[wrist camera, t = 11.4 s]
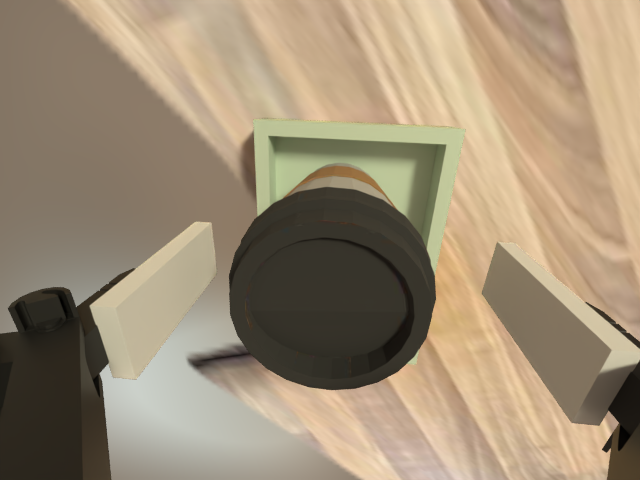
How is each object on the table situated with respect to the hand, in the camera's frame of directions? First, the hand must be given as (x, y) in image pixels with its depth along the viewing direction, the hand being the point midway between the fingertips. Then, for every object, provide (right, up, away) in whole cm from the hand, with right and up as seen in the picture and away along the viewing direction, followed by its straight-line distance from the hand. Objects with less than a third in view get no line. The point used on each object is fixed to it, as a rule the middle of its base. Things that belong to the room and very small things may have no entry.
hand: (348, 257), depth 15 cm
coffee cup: (0, +4, +10) cm, 11 cm away
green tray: (+1, 0, +13) cm, 13 cm away
